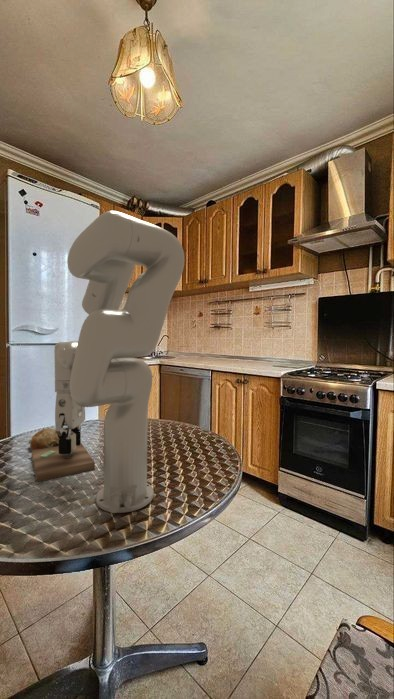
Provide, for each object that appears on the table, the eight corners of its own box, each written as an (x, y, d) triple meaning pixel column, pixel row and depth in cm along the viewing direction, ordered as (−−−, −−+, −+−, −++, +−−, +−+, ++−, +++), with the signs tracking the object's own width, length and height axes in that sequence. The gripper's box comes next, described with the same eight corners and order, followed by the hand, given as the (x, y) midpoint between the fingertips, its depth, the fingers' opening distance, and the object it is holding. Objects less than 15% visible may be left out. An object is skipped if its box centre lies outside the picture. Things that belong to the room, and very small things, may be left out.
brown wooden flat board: (94, 469, 82) (94, 462, 82) (36, 481, 74) (36, 474, 74) (80, 448, 97) (80, 442, 97) (31, 457, 90) (31, 450, 90)
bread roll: (41, 466, 92) (50, 444, 91) (19, 448, 95) (27, 426, 94) (65, 454, 102) (73, 434, 100) (44, 438, 104) (51, 418, 103)
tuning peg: (77, 458, 84) (77, 433, 83) (65, 461, 82) (65, 436, 81) (65, 447, 92) (65, 424, 92) (53, 449, 90) (53, 426, 90)
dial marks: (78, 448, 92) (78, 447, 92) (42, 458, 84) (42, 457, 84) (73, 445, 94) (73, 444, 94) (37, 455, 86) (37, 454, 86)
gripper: (70, 390, 76) (70, 461, 76) (93, 381, 93) (93, 439, 93) (40, 390, 76) (41, 461, 76) (69, 381, 93) (69, 439, 93)
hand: (70, 448), depth 85 cm, fingers closed on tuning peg, 5 cm apart
